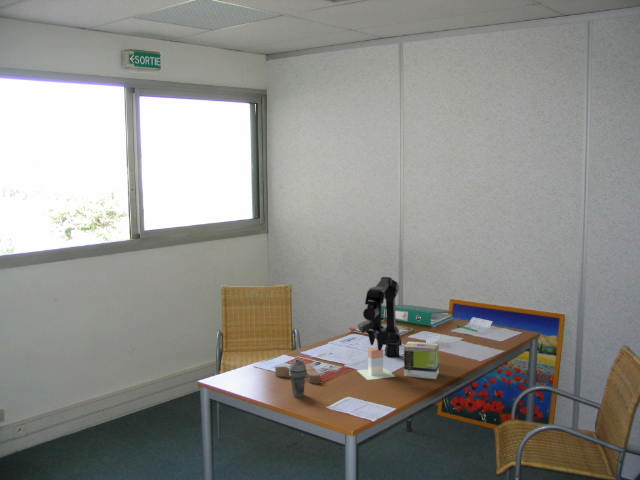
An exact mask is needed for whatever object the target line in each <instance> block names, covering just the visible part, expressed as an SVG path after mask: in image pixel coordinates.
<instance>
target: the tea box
mask: <svg viewBox="0 0 640 480" xmlns="http://www.w3.org/2000/svg"><path fill="white" fill-rule="evenodd" d="M439 346H440V344H439V343H437V342H436V343H435V342H419V341H407V342H406V343H405V345H404V347H403V360H404V361H403V369H404V370H403V372H404V374H403V375H404V377H409V378H410V377H411V378H412V377H413V378H422V379H431V380H437V377H438V376H439V371H440V352H439V351H440V350H439V349H440V347H439Z"/></svg>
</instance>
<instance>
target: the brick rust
mask: <svg viewBox="0 0 640 480" xmlns="http://www.w3.org/2000/svg"><path fill="white" fill-rule="evenodd" d="M368 357H369V358H371V359H376V358H383V359H384V349H383V348H382V349H381V350H378V346H377V347H370V348H368V349H367V358H368Z"/></svg>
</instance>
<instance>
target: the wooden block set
mask: <svg viewBox="0 0 640 480" xmlns="http://www.w3.org/2000/svg"><path fill="white" fill-rule="evenodd" d="M304 364H305V366H306V374H305V380H307V381H308V382H309V383H310V384H314V385H318V384H320V383H321V376H320V374H319V373H318V371H316V369H315V368H314V367H313V366H312V364H310V363H304ZM274 370H275V372H274V375H275V377H280V378H286V379H290V367H288V365H283V366H281V365H280V366H275V369H274Z"/></svg>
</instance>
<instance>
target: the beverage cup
mask: <svg viewBox="0 0 640 480" xmlns="http://www.w3.org/2000/svg"><path fill="white" fill-rule="evenodd" d="M301 353H302V350H299V356H298V359H296V360H294V361H292V363H291V364H290V367H289V375H290V377H291V378H290V379H291V387H292V389H291V391H292V395H293V397H295V398H302V397H304V396H305V395H304V393H305V382H306V378H305V374H306V366H305V364H306V363H305V362H303V361H302V360H301V355H302V354H301Z"/></svg>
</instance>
